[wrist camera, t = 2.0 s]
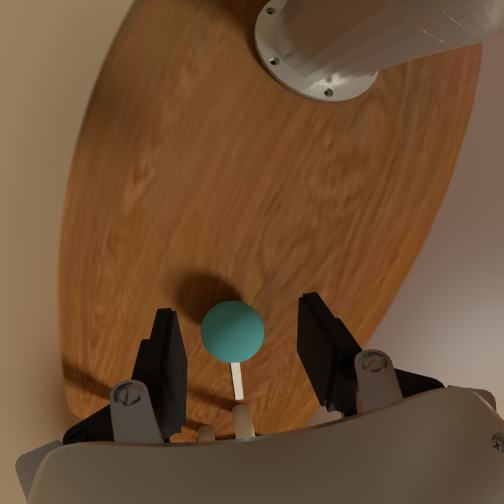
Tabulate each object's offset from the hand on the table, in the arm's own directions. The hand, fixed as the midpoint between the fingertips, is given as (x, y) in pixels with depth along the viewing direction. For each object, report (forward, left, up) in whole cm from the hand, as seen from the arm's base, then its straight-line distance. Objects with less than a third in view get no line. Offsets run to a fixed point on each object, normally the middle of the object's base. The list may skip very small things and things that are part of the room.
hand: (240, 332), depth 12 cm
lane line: (+18, 0, -15) cm, 24 cm away
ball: (+9, 0, -12) cm, 15 cm away
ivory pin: (+25, 0, -15) cm, 29 cm away
